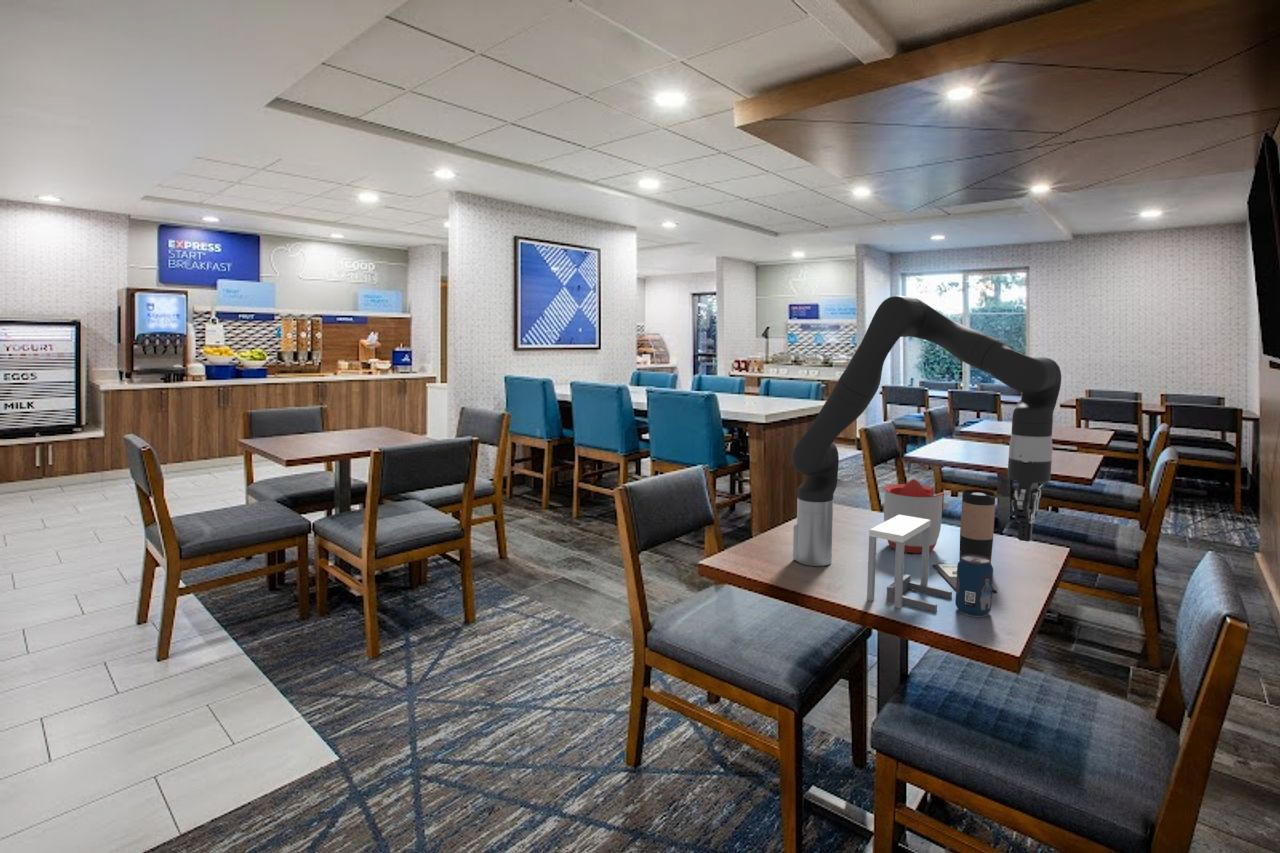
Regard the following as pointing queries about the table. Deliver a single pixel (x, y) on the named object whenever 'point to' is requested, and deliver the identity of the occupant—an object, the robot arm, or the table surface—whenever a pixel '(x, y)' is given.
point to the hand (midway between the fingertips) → (1024, 540)
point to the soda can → (974, 585)
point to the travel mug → (977, 523)
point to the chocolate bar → (950, 574)
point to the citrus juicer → (915, 510)
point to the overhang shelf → (901, 531)
